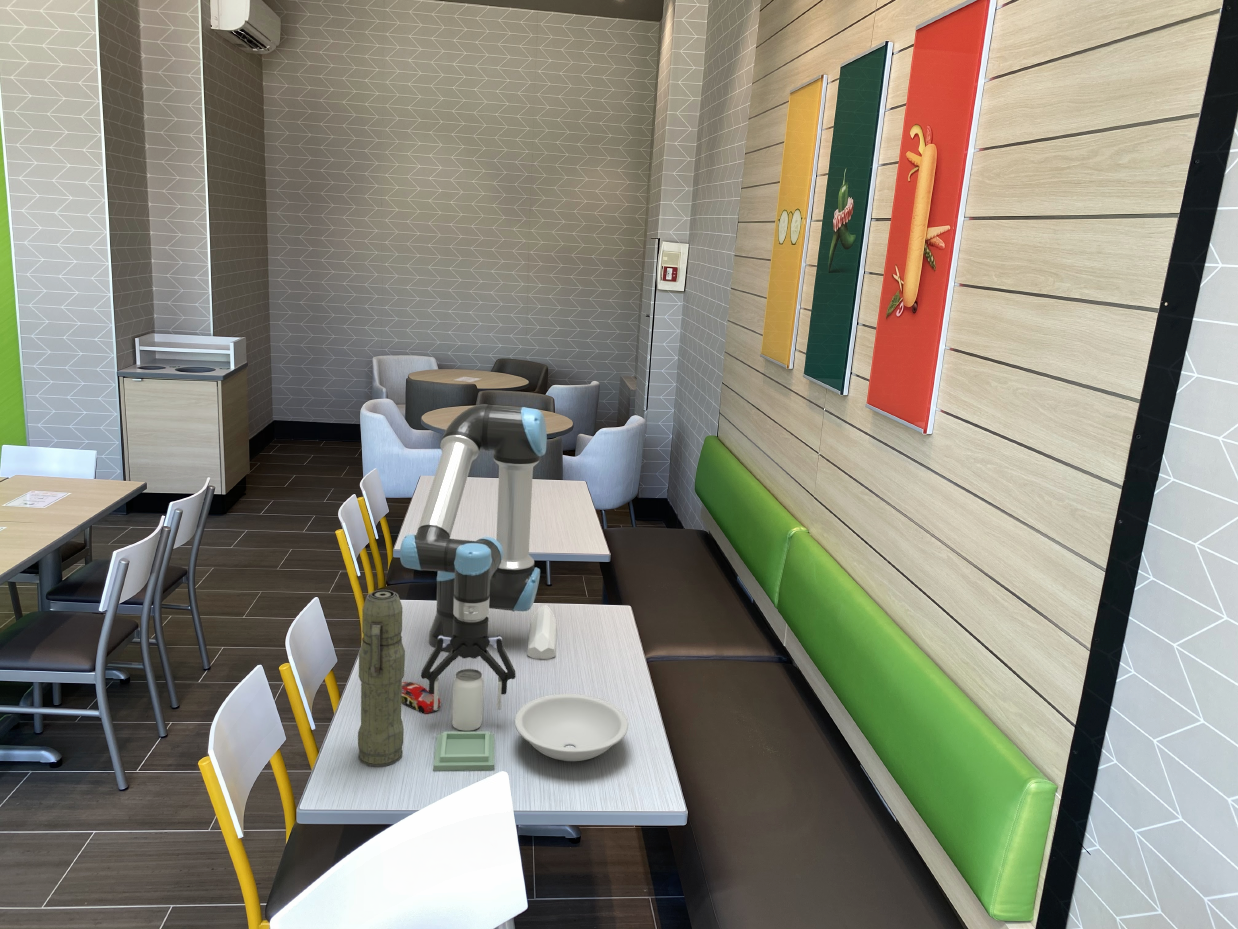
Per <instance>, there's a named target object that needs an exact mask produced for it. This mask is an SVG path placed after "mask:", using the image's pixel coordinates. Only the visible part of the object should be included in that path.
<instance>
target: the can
mask: <svg viewBox="0 0 1238 929" xmlns="http://www.w3.org/2000/svg"><path fill="white" fill-rule="evenodd" d="M482 675H483V673H482V672H481V671H479V670H478V669H475V668H465V669H461V670H458V671H457V672H456V673H455V677H454V680H453V684H452V685H453V689H452V691H453V692H452V714H451V716H452V720H451V721H452V723H451V724H452V726H453V727H454V729H456V730H457V731H459V732H474V731H476V730H478V729H479V728H480V727H481V726H482V724H483V723H482V722H483V710H484V709H483V708H484V706H483V705H484V679H483V676H482Z"/></svg>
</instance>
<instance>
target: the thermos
mask: <svg viewBox="0 0 1238 929" xmlns="http://www.w3.org/2000/svg"><path fill="white" fill-rule="evenodd" d="M399 596H400V595H399V594H398V593H397V592H395V591H393V590H390V589H378V590H374V591H372V592H370V593H368V594H367V595H366V598H365V601H364V603H363V606H362V611H361V612H362V614H361V616H362V618H361V619H362V621H361V622H362V626H361V628H362V634H363V635H362V638H361V646H360V649H359V651H358V678H359V681H360V726H359V729H358V732H357V747H358V760H359V761H360V763H362V764H363V765H365V766H368V767H372V768H383V767H388V766H391V765H394V764H396V763H397V762H399V761H400V760H401V759H402V757H403V745H404V740H405V739H404V738H405V737H404V736H405V732H404V730H405V729H404V723H403V722H404V721H403V719H402V703H401V700H402V682H403V679H404V676H405V668H406V666H405V662H406V661H405V660H406V659H405V658H406V657H405V656H406V654H405V652H406V650H405V647H404V645H403V636H402V631H403V605H402V601H401V598H400V597H399Z"/></svg>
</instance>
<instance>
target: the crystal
mask: <svg viewBox="0 0 1238 929" xmlns="http://www.w3.org/2000/svg"><path fill="white" fill-rule="evenodd" d="M530 621H531V622H530V624H529V625H530V626H529V633H528V634H529V635H528V642H527V652H526V656H528V657H530V658H531V659H534V660H535V659H536V660H550V659H553V658H554V657H556V650H557V630H558V629H557V620H556V616H555V615H554V612H553V611H552V610H551V608H550V607H549V606H548V605H546V604H545V603H544V604H543V605H540V607H538V609H537V610H536V611H535V613H534V614H533V615H532V618H531V620H530Z"/></svg>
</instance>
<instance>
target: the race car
mask: <svg viewBox="0 0 1238 929" xmlns="http://www.w3.org/2000/svg"><path fill="white" fill-rule="evenodd" d="M402 704H403V705H404V706H406V707H409V708H411V709H414V710H416V711H418V712H419V713H421V714H428V713H433V712H436V711H438V710H439V709H440V708H441V704H442V703H441V699H440V698H439V697H438V708H437V710H434V694H429V689H427V688H425V687H424V686H422V685H421V684H418V683H415V682H410V681H402V700H401V705H402Z"/></svg>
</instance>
